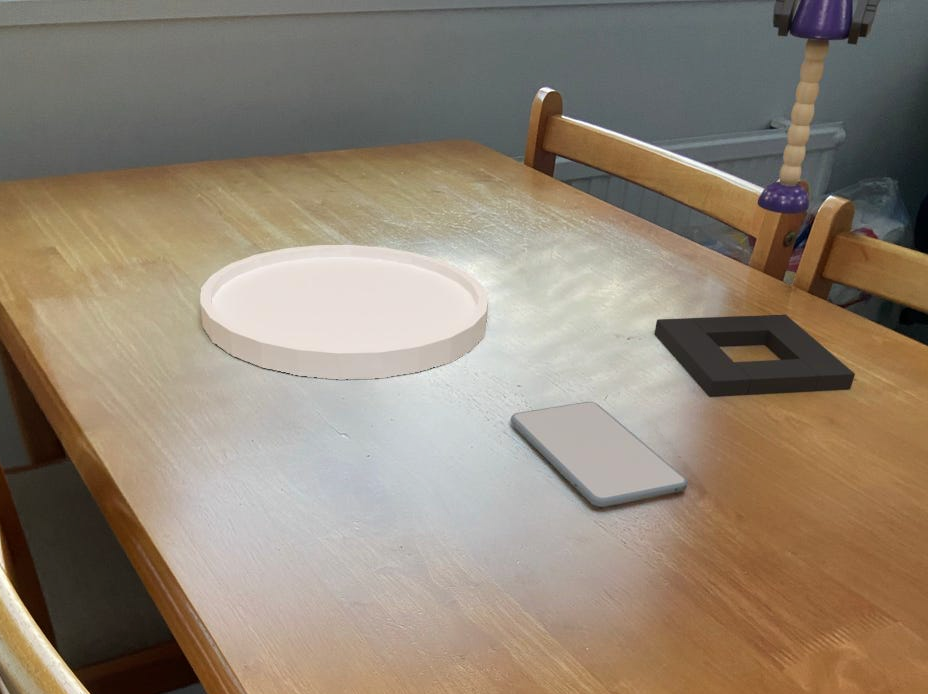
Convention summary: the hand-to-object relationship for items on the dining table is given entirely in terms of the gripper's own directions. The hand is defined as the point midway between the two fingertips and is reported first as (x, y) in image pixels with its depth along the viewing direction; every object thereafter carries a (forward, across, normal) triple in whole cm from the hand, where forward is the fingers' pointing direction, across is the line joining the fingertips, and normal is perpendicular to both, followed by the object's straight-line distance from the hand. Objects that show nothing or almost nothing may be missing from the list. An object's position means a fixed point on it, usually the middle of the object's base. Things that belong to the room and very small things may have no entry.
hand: (818, 31), depth 76 cm
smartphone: (+35, -8, +4) cm, 36 cm away
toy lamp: (+8, 0, +11) cm, 13 cm away
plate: (+24, -38, +15) cm, 47 cm away
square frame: (+20, +1, +19) cm, 28 cm away
